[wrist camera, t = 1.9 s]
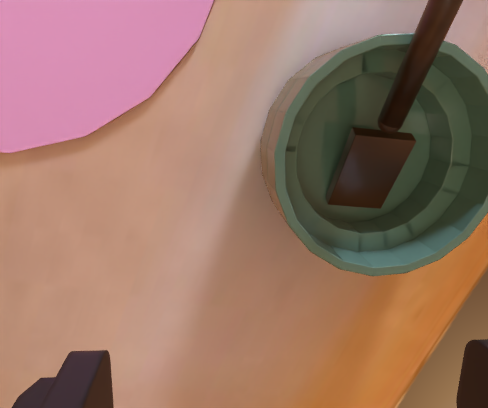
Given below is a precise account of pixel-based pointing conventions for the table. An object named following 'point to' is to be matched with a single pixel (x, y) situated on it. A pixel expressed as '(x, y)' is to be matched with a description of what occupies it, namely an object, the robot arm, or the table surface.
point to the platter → (85, 62)
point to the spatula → (390, 120)
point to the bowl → (413, 172)
